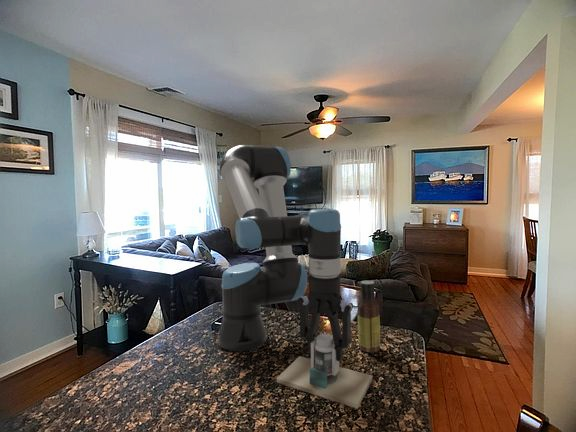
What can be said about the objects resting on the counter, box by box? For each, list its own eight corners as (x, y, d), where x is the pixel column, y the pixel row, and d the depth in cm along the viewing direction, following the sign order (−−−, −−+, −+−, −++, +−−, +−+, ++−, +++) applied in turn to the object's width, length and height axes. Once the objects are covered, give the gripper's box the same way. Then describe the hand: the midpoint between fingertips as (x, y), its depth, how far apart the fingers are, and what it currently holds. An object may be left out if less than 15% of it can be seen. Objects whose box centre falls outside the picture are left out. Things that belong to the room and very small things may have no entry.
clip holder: (276, 382, 77) (276, 364, 77) (299, 359, 88) (299, 343, 87) (357, 408, 68) (357, 388, 67) (372, 379, 78) (372, 361, 78)
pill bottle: (311, 368, 79) (311, 335, 78) (328, 364, 80) (328, 331, 80) (320, 378, 74) (320, 343, 74) (338, 373, 76) (338, 339, 75)
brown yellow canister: (378, 344, 96) (378, 279, 95) (382, 354, 90) (382, 285, 89) (356, 343, 97) (356, 278, 95) (358, 353, 91) (358, 284, 89)
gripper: (284, 273, 77) (285, 367, 78) (356, 283, 68) (356, 388, 70) (298, 267, 83) (299, 354, 85) (366, 275, 75) (365, 371, 76)
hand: (324, 369), depth 77 cm, fingers closed on pill bottle, 5 cm apart
